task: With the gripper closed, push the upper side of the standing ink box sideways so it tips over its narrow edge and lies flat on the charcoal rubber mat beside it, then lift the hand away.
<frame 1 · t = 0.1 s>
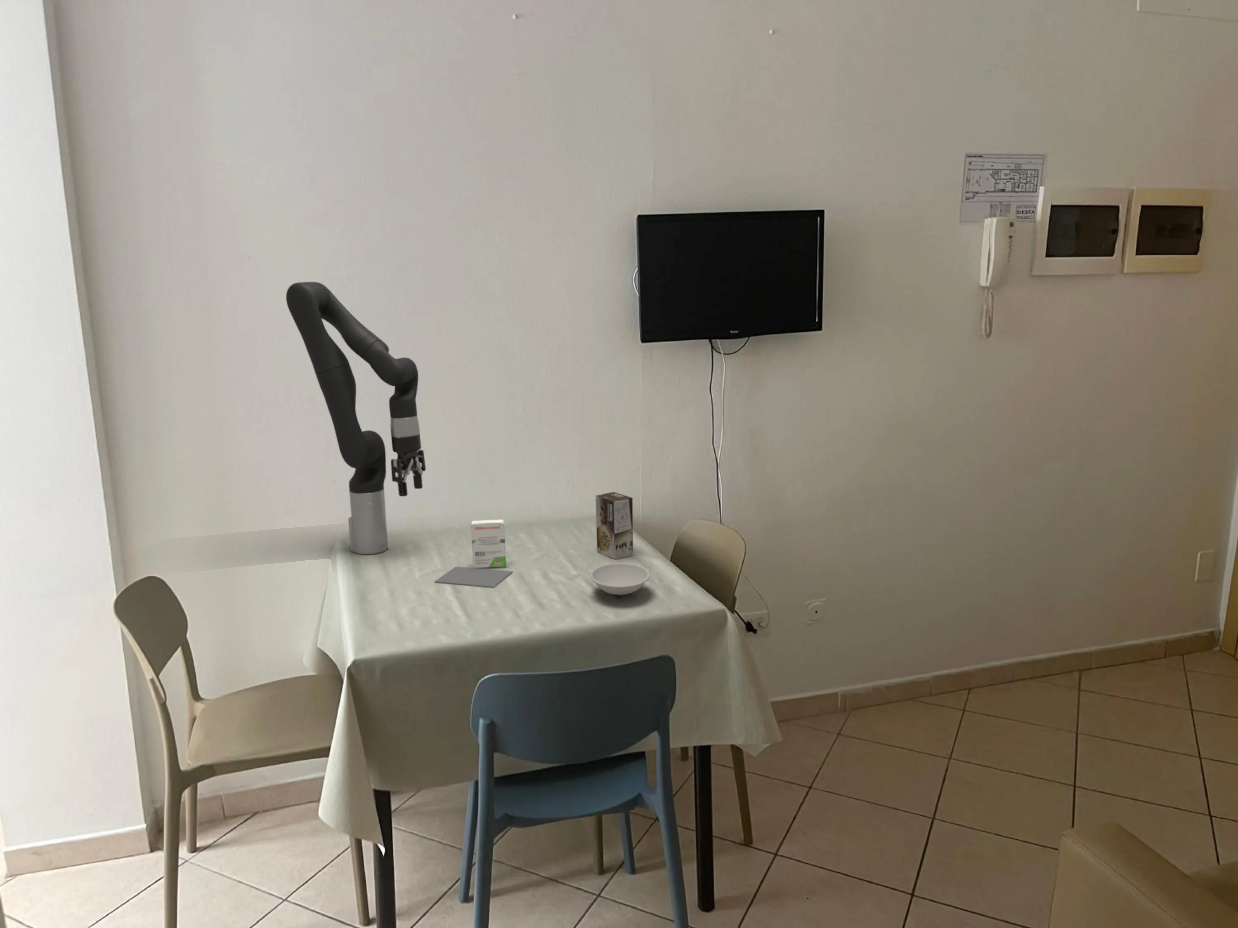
hand: (411, 492, 249), 17 cm above the table, tool pointing down, fingers open, 8 cm apart
ink box: (489, 565, 241), on the table, touching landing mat
dish: (620, 594, 219), on the table
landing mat: (474, 577, 232), on the table
coffee box: (614, 554, 250), on the table
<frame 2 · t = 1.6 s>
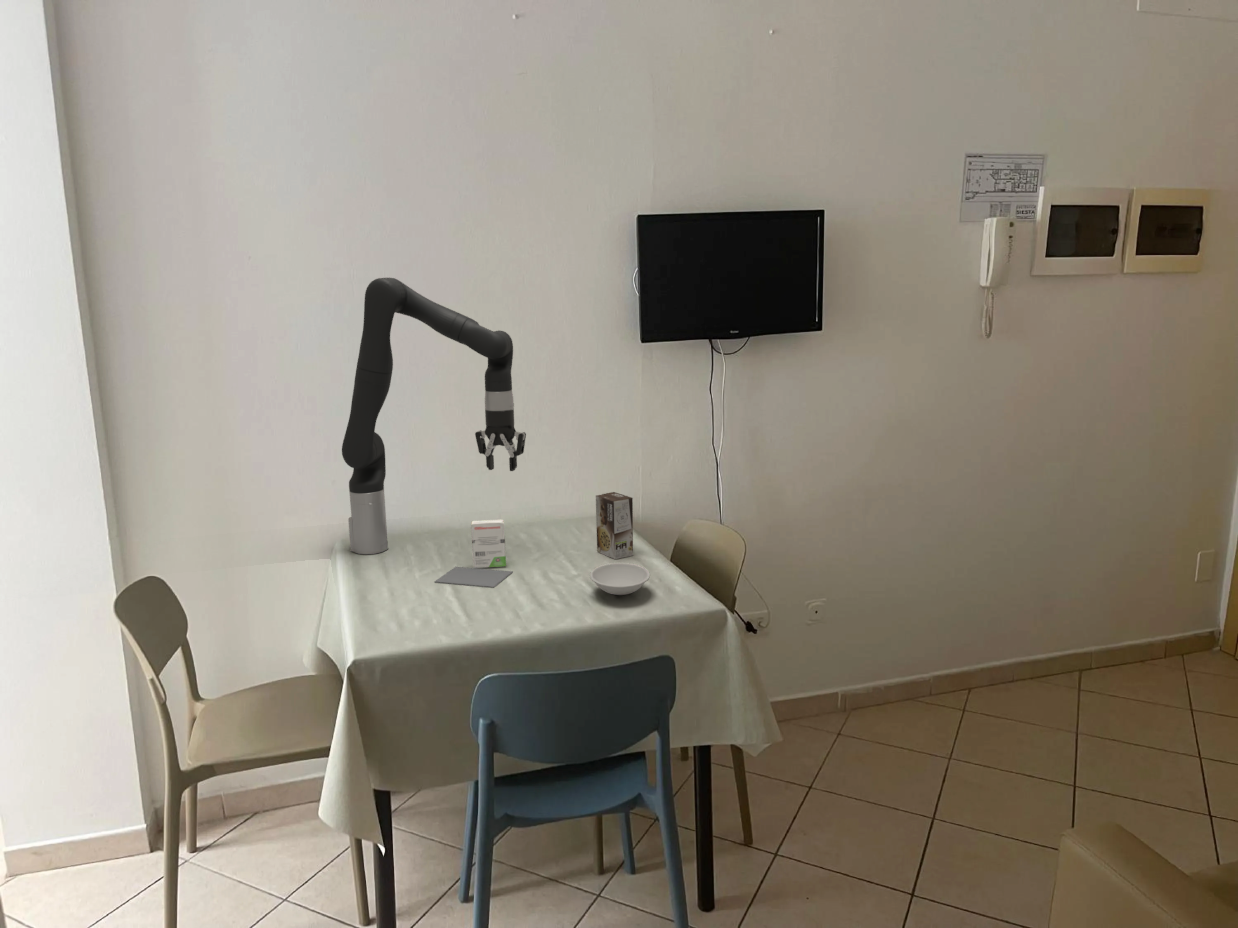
hand: (501, 469, 246), 24 cm above the table, tool pointing down, fingers open, 5 cm apart
nothing on the table moved.
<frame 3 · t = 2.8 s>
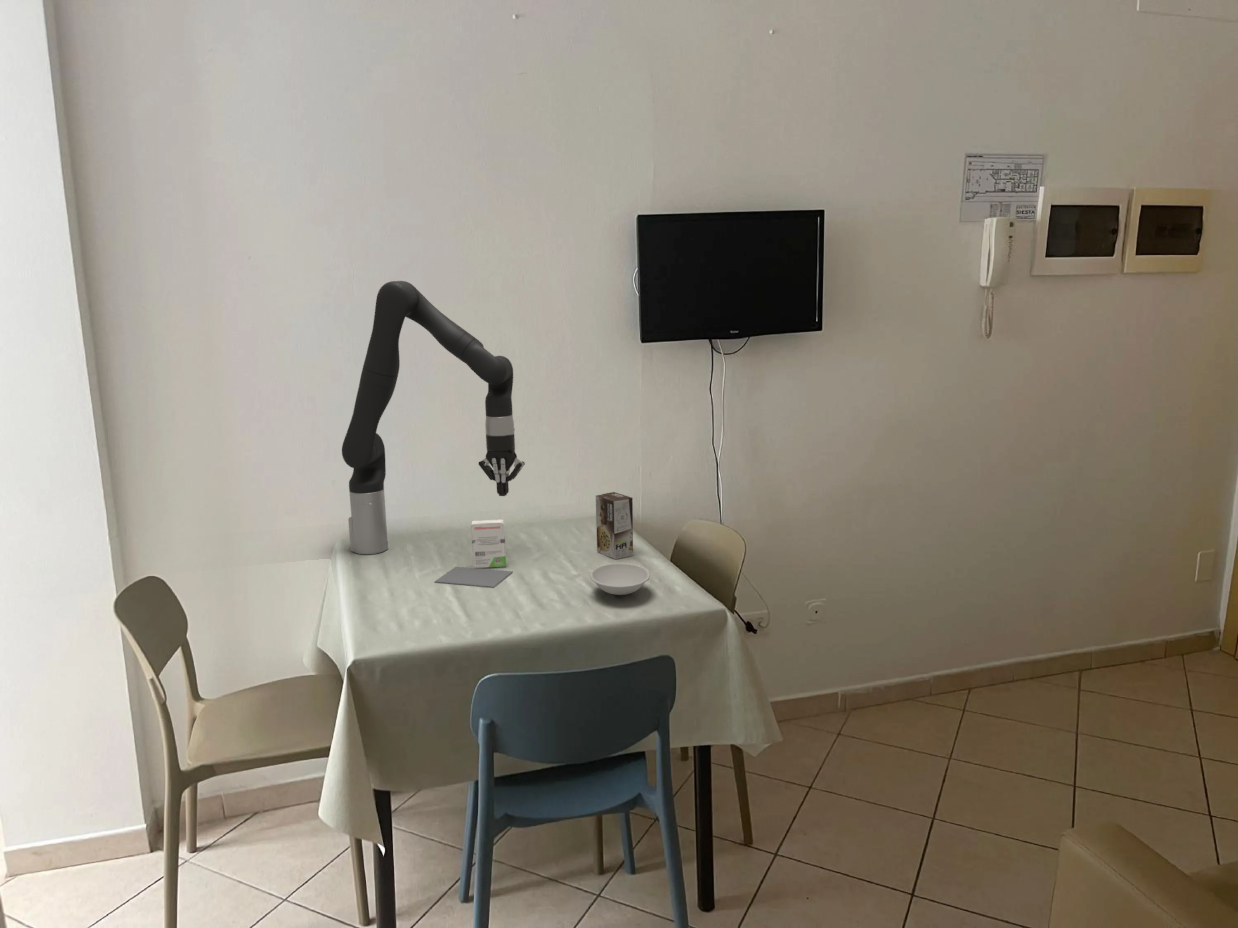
hand: (503, 495, 247), 16 cm above the table, tool pointing down, fingers closed
nothing on the table moved.
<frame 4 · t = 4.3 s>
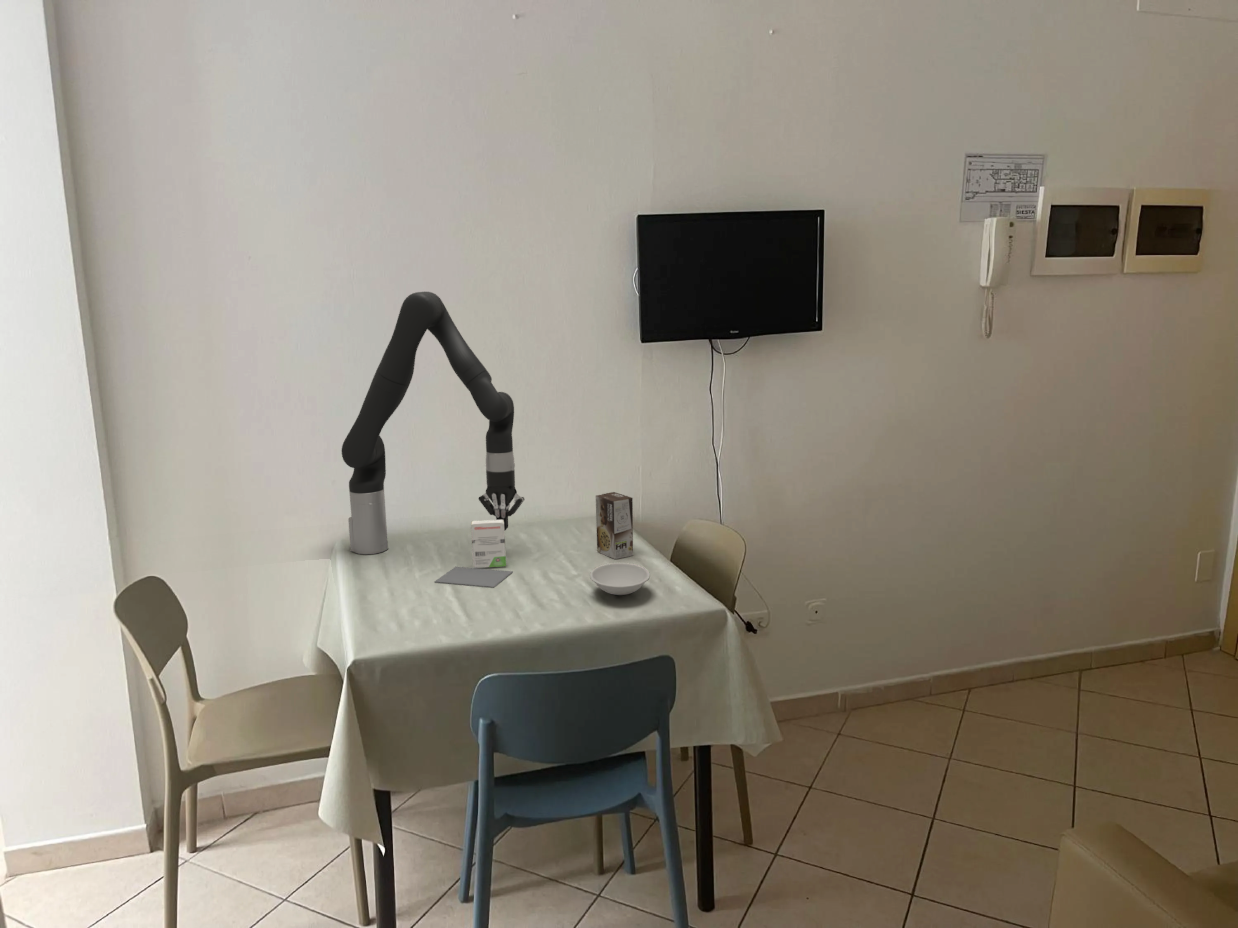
hand: (502, 530, 249), 7 cm above the table, tool pointing down, fingers closed
nothing on the table moved.
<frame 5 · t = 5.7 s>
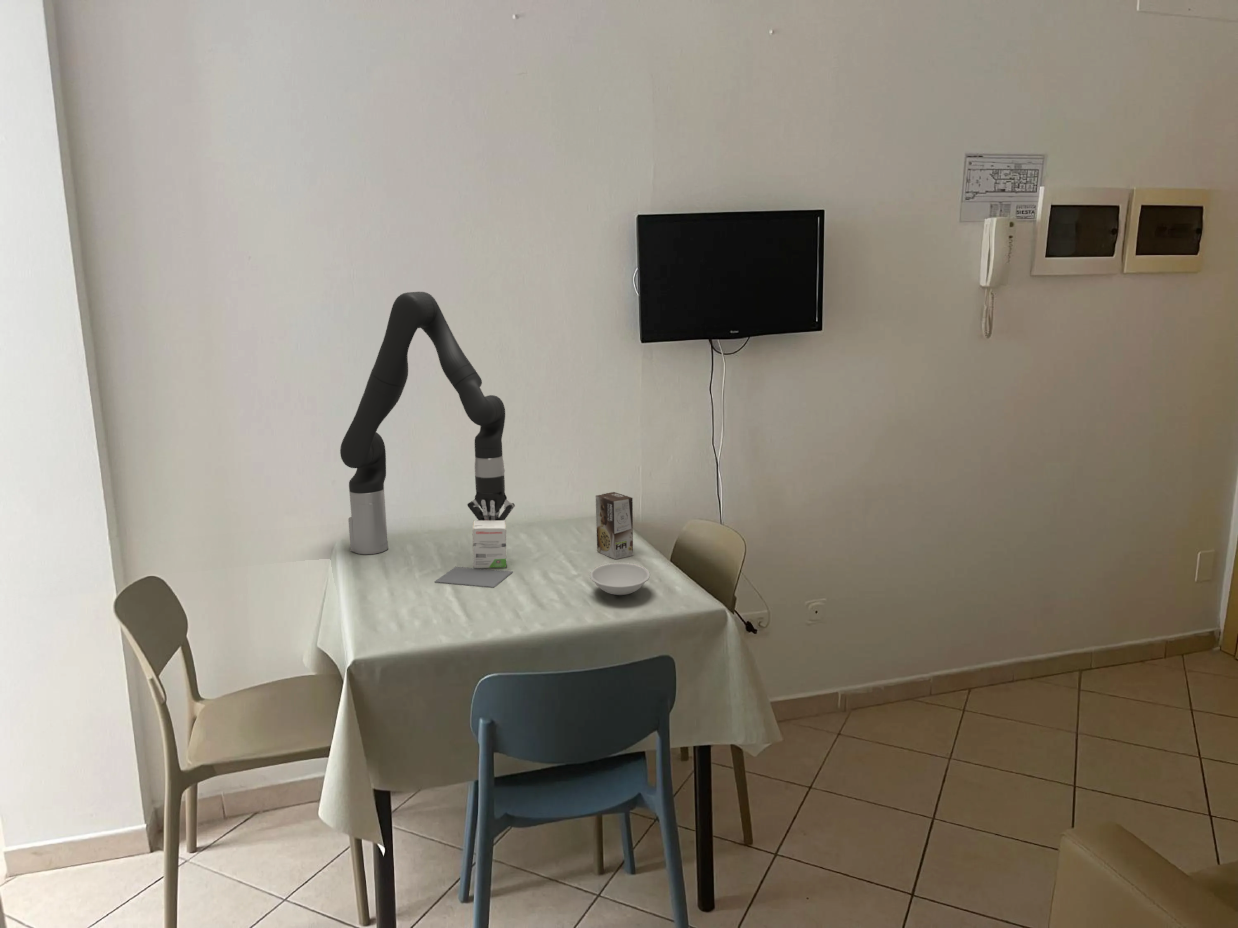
hand: (492, 537, 242), 7 cm above the table, tool pointing down, fingers closed
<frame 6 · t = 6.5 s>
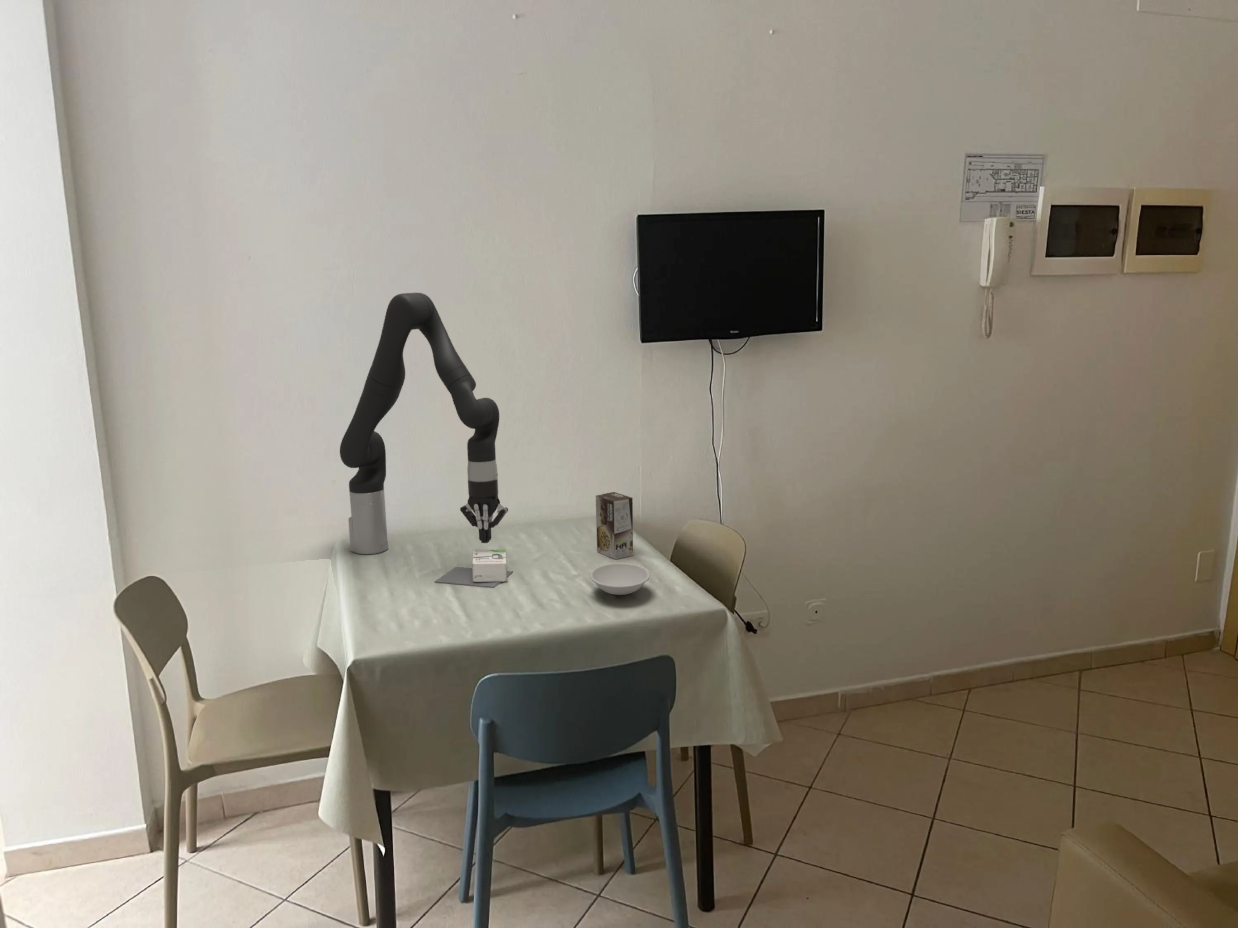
hand: (485, 542, 238), 7 cm above the table, tool pointing down, fingers closed
ink box: (489, 558, 238), point 3 cm above the table, touching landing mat
everything else where it was.
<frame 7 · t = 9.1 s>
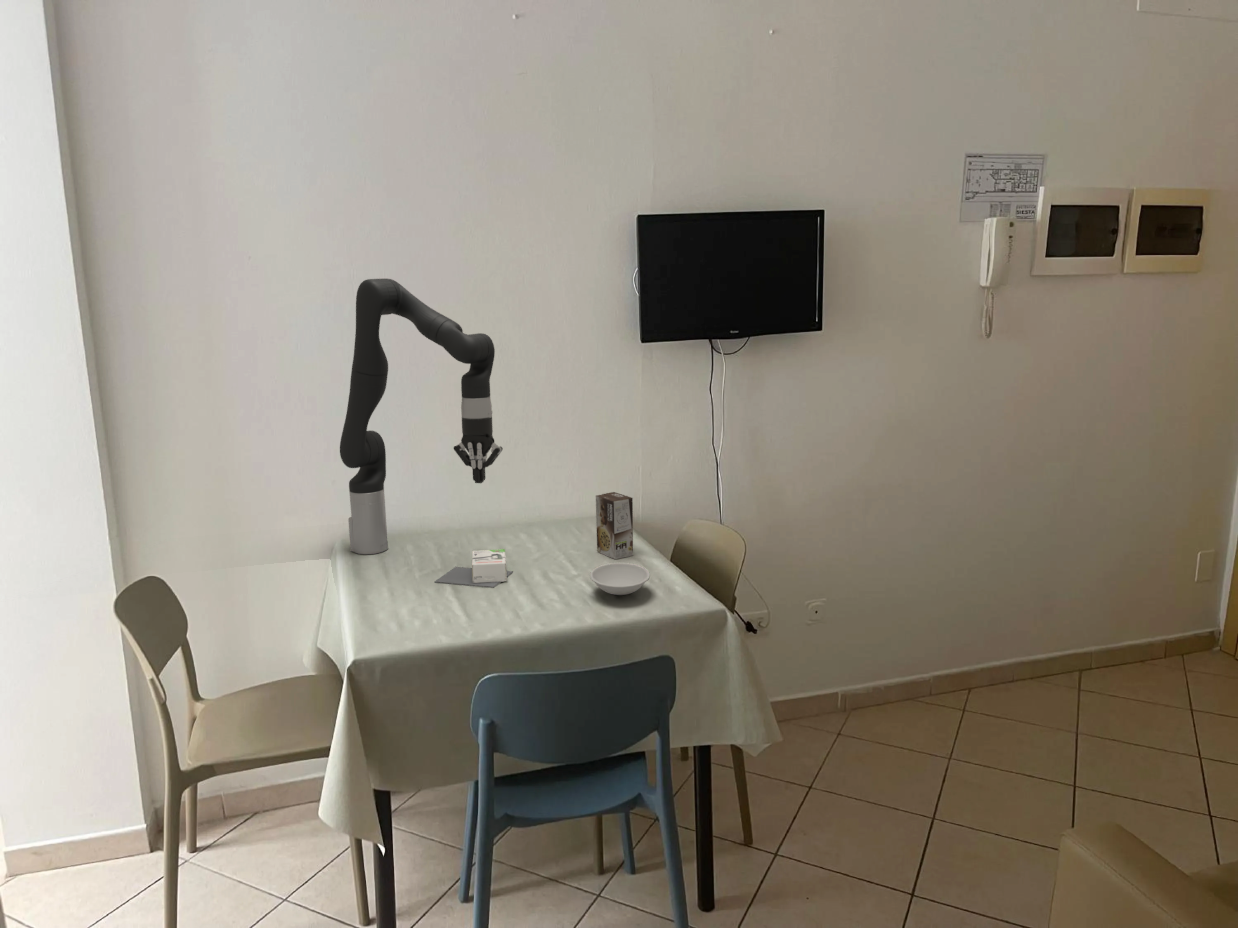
hand: (479, 482, 232), 23 cm above the table, tool pointing down, fingers closed
nothing on the table moved.
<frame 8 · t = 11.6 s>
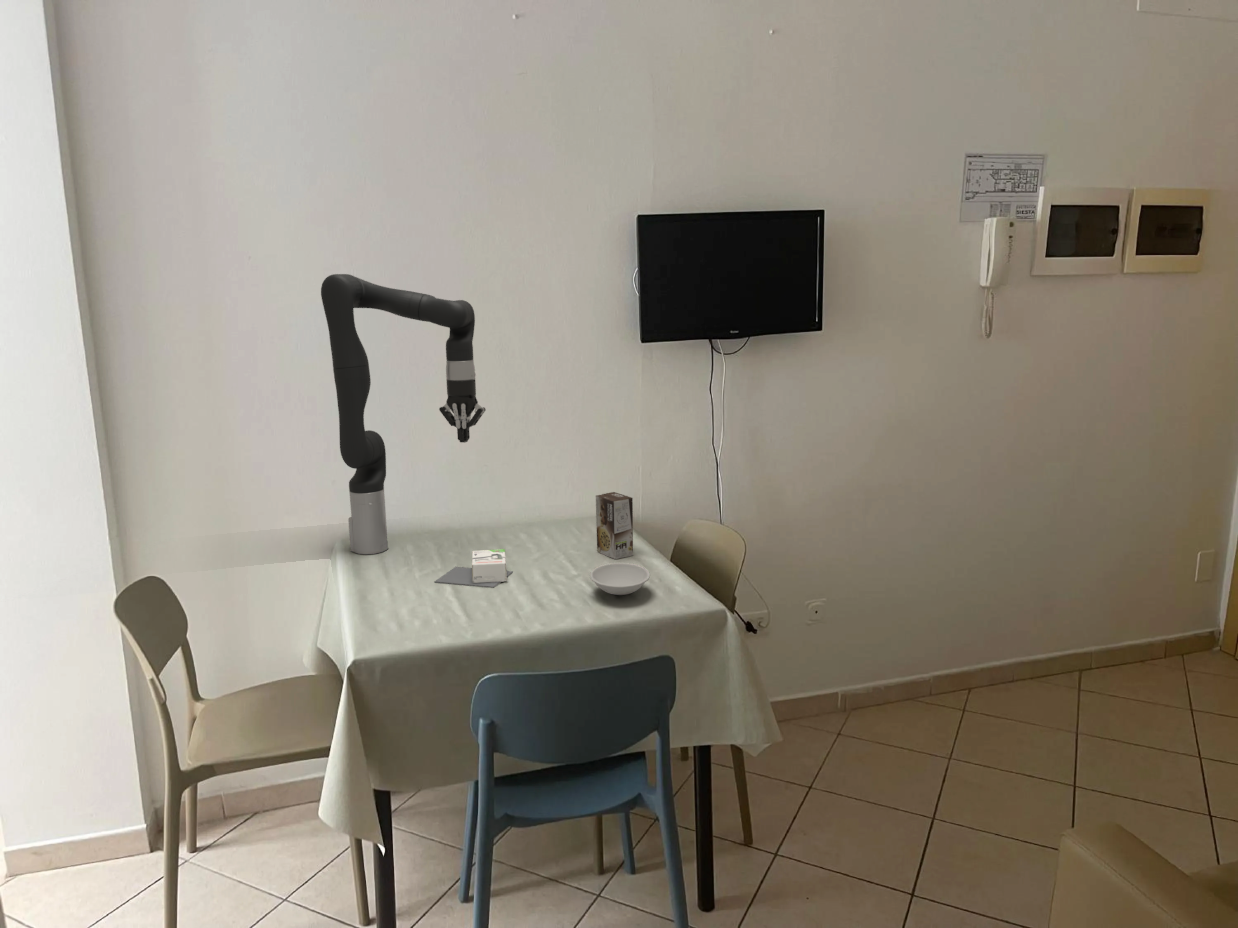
hand: (463, 441, 246), 31 cm above the table, tool pointing down, fingers closed
nothing on the table moved.
at the end: ink box tilted 90°; ink box inside the target area (1.7 cm from its centre), point 2.8 cm above the table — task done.
